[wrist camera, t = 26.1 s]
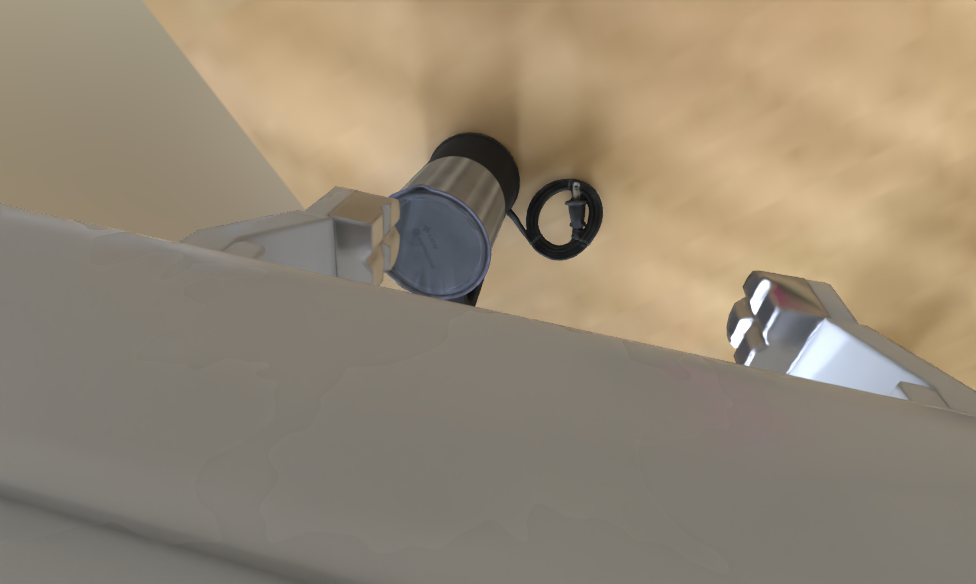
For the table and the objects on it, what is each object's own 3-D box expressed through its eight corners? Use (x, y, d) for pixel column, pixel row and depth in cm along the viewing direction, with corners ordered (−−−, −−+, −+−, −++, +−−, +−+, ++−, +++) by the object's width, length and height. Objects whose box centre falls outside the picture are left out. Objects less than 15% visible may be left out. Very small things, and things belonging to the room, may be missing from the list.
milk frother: (412, 148, 48) (346, 209, 36) (569, 89, 42) (555, 137, 30) (469, 270, 54) (429, 358, 42) (612, 233, 49) (615, 322, 36)
